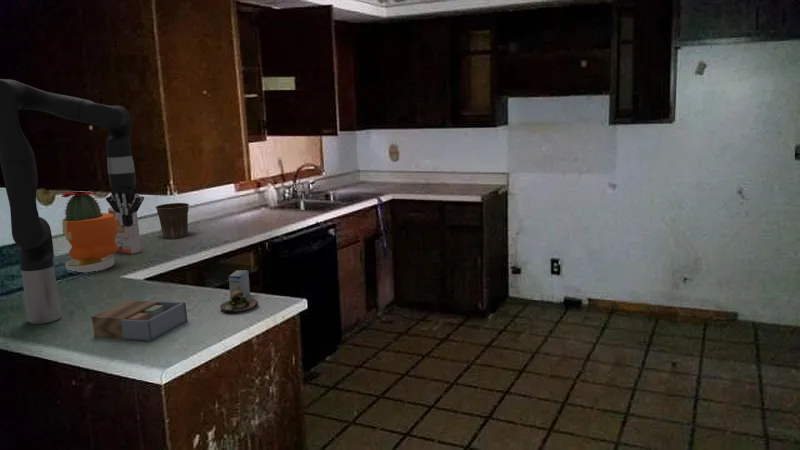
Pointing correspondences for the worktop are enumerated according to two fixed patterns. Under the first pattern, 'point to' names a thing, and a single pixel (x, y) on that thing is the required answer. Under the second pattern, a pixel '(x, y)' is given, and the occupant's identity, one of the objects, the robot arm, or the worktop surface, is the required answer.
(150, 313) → the tile sage
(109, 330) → the wooden block
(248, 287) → the medicine box
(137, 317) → the tile terracotta
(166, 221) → the plant pot
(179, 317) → the tray
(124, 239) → the cracker box
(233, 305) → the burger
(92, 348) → the worktop surface
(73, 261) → the potted cactus
